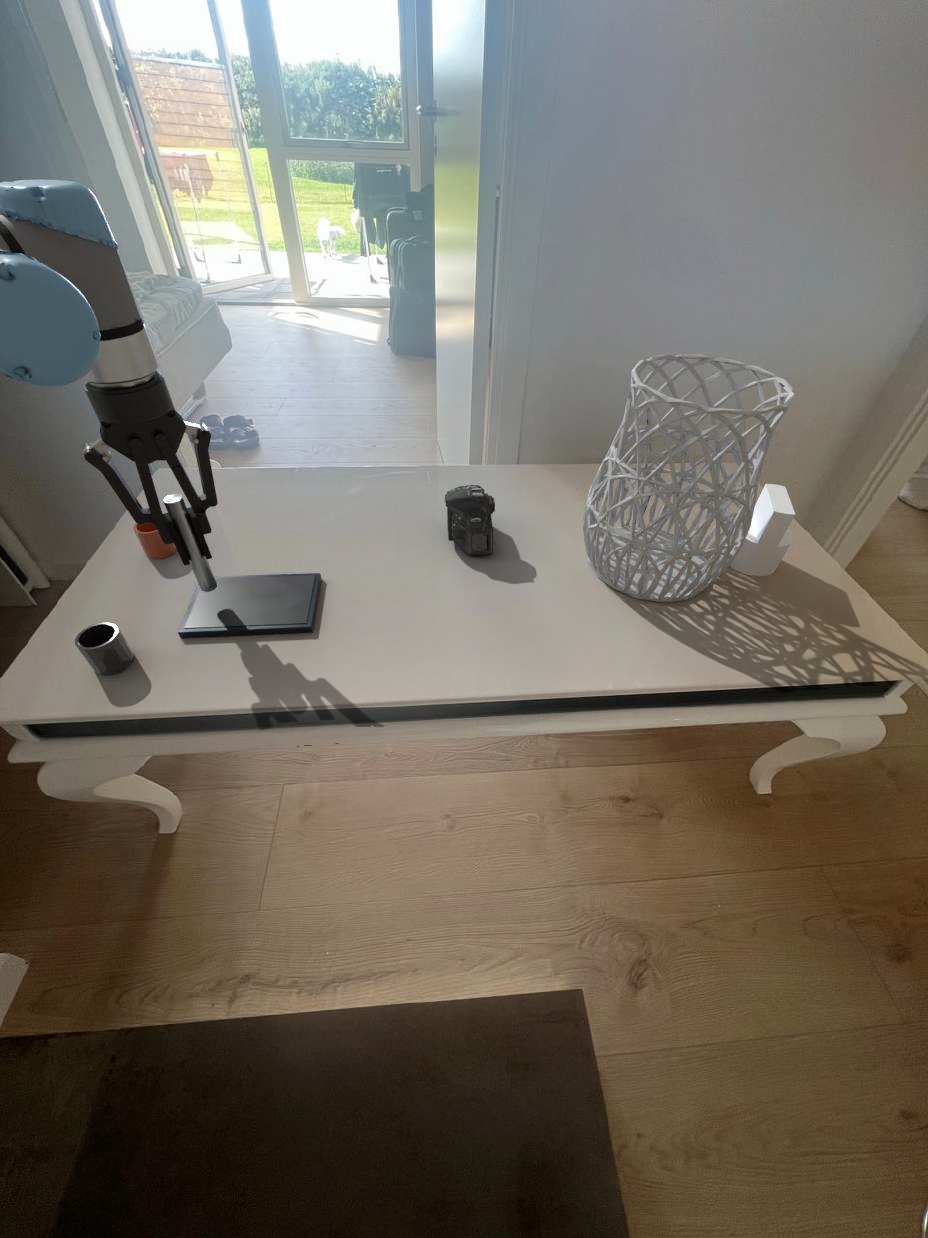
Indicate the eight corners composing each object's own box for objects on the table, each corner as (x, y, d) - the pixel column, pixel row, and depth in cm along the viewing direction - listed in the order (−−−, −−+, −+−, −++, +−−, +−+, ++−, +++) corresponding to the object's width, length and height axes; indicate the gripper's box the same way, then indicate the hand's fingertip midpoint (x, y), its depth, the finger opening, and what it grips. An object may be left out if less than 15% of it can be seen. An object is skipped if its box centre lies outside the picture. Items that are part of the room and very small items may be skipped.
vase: (636, 630, 76) (710, 431, 55) (547, 540, 92) (579, 359, 71) (754, 587, 84) (858, 399, 63) (655, 511, 100) (711, 340, 79)
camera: (428, 524, 94) (427, 474, 87) (478, 513, 97) (481, 464, 90) (459, 567, 86) (461, 515, 79) (512, 553, 89) (518, 502, 82)
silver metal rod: (203, 597, 74) (164, 504, 63) (200, 588, 75) (161, 496, 64) (220, 592, 74) (183, 500, 64) (216, 583, 76) (180, 492, 65)
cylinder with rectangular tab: (718, 540, 93) (745, 480, 85) (771, 549, 92) (805, 488, 84) (723, 570, 87) (753, 508, 79) (780, 580, 86) (817, 518, 77)
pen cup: (147, 562, 84) (135, 536, 81) (144, 546, 87) (131, 521, 84) (179, 553, 86) (168, 528, 82) (174, 538, 89) (164, 513, 85)
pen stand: (94, 681, 67) (75, 654, 63) (92, 656, 70) (73, 630, 66) (136, 667, 68) (119, 641, 65) (132, 643, 71) (116, 617, 68)
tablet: (180, 638, 72) (177, 631, 72) (203, 582, 81) (200, 576, 80) (312, 632, 74) (311, 626, 73) (321, 578, 83) (320, 572, 82)
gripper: (192, 353, 59) (246, 527, 76) (35, 374, 53) (131, 557, 70) (205, 375, 55) (260, 555, 71) (35, 400, 49) (138, 590, 65)
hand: (196, 556), depth 70 cm, fingers closed on silver metal rod, 2 cm apart
